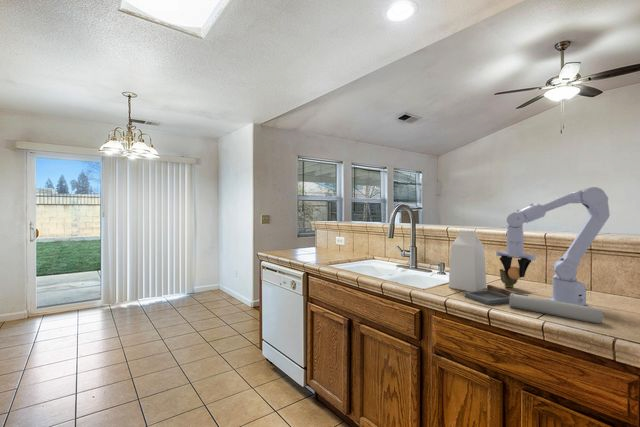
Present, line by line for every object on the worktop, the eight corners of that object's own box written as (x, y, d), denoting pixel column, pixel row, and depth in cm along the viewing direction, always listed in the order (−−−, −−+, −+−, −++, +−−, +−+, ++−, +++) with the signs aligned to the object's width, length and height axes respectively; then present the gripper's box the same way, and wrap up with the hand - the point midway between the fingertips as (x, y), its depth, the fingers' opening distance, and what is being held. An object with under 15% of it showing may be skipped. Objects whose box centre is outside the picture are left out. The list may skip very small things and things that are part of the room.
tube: (604, 309, 98) (513, 293, 116) (603, 307, 94) (509, 291, 112) (604, 326, 97) (512, 308, 114) (603, 325, 93) (508, 306, 111)
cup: (513, 285, 144) (513, 268, 144) (522, 289, 137) (522, 271, 137) (496, 285, 145) (496, 268, 145) (504, 289, 138) (504, 271, 138)
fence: (528, 303, 117) (528, 295, 117) (525, 303, 116) (525, 295, 116) (489, 291, 134) (489, 284, 134) (487, 292, 133) (487, 285, 133)
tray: (513, 302, 118) (513, 297, 118) (488, 305, 115) (488, 300, 115) (488, 294, 130) (488, 290, 130) (464, 296, 126) (464, 292, 126)
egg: (525, 279, 125) (525, 267, 125) (516, 280, 123) (516, 268, 123) (513, 277, 130) (513, 265, 130) (504, 278, 128) (504, 266, 128)
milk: (448, 287, 142) (448, 230, 142) (459, 283, 150) (459, 229, 150) (475, 292, 133) (475, 231, 133) (486, 287, 141) (486, 230, 141)
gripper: (540, 243, 122) (539, 277, 122) (503, 240, 135) (503, 271, 135) (529, 244, 118) (529, 279, 119) (493, 241, 131) (493, 273, 131)
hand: (515, 275), depth 126 cm, fingers closed on egg, 5 cm apart
